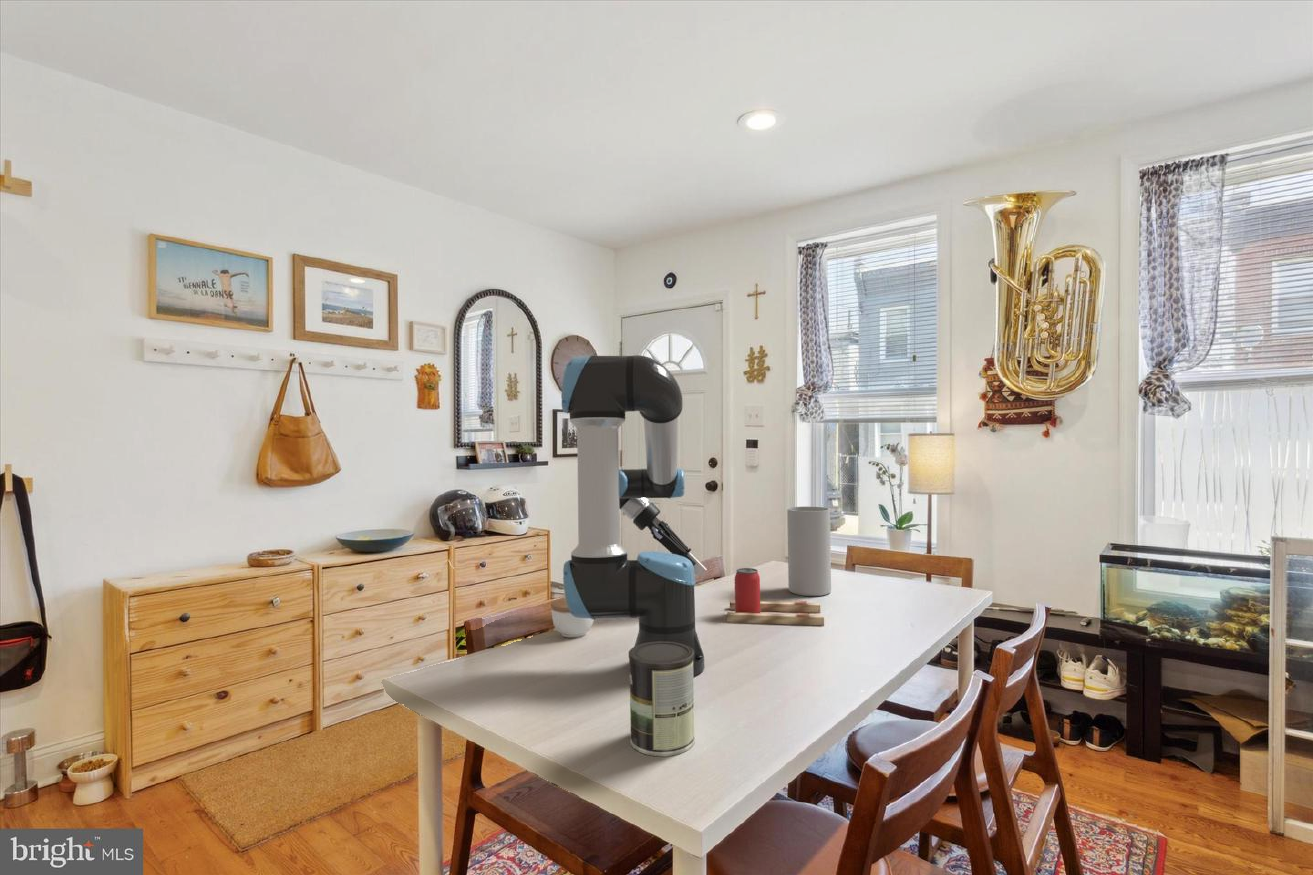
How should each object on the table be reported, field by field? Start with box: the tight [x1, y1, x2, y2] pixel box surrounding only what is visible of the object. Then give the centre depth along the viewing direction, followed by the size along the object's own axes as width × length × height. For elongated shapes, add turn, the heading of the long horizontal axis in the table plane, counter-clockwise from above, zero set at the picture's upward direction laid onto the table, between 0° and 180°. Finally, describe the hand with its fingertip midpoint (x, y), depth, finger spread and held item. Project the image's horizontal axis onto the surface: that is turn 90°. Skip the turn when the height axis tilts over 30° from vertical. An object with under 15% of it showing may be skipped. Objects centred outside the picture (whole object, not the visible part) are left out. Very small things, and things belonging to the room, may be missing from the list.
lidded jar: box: [550, 597, 595, 638], centre depth 155 cm, size 11×11×9 cm
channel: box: [726, 600, 825, 627], centre depth 167 cm, size 24×14×2 cm, turn 80°
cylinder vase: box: [786, 506, 832, 597], centre depth 192 cm, size 12×12×25 cm
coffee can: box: [628, 641, 696, 757], centre depth 100 cm, size 10×10×14 cm
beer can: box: [734, 567, 761, 613], centre depth 168 cm, size 7×7×12 cm
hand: (703, 573), depth 172 cm, fingers closed
